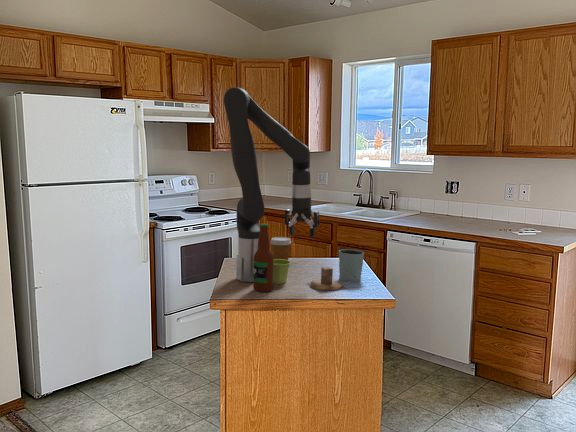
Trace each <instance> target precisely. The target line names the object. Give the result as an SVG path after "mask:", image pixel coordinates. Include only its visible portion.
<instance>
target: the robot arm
mask: <svg viewBox="0 0 576 432" xmlns="http://www.w3.org/2000/svg"><path fill="white" fill-rule="evenodd" d="M223 105H224V110H225V113H226V117H227V122H228V128H229V141H230V150H231V158H232V165H233V169H234V171H235V173H236V176H237V179H238V181H239V183H240V187H241V194H242V197H241V198H240V199H239V201H238V202H237V205H236V230H237V234H238V241H237V243H238V244H237V245H238V246H237V247H238V248H237V249H238V251H237V254H236V272H235V273H236V276H235V277H236V279H237V280H238V281H240V282H247V283H248V282H249V283H250V282H251V283H252V282H253V275H254V255H255V253H256V251H257V250H258V239H259V234H260V230H259V229H260V220H262V218H263V217H264V214H265V203H264V199H263V194H262V189H261V186H260V178H259V169H258V168H259V167H258V161H257V160H258V158H257V152H256V145H255V141H254V139H253V135H252V132H251V130H250V126H249V121H250V122H252V123H253V124H254V125H255V126H256V127H257V128H258V129H259V130H260V132H262V133H263V135H264V136H265V137H266V138H267V139H269V140H270V141H271V142H272V143H274V145H275V146H277V147H278V148H280V149H281V150H283V152H284V153H286V155H287V156H289V158H291V160H292V173H291V178H292V179H291V183H292V187H291V208H292V209H289V208H288V209H286V210H285V209H284V225H286V226H288V231H289V232H288V233H289V235H290V236H291V237H293V236H295V225H296V223H297V222H298V223H299V222H302V223H305V224H307V225H308V227H309V238H310V239H312V238H314V237H315V236H316V228H319V226H320V225H321V221H320V211H318V210H316V211H313V210H312V187H311V171H310V165H311V164H310V163H311V150H310V148H309V146H307V145H306V144H305V143H302V142H301V141H300V140H299V139H297V138H296V137H295V136H294V135H293V134H292V132H291V131H289V130H288V129H287V128H285V127H284V126H283V125H282V124H281V123H279V122H278V121H277V120H275V118H273V117H272V116H271V115H270V114H268V112H266V111H265V110H263V108H261V107H260V106H259V105H258V104H257V102H256V101H255V100H254V99H253V98H252V97H251V95H250V94H249V93H248V91H247V90H245V89H244V88H243V87H238V86H235V87H229V88H228V89H227V90H225V93H224V94H223ZM291 215H292V219H291ZM311 216H312V217H313V219H312V217H311Z"/></svg>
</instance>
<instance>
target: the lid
mask: <svg viewBox="0 0 576 432" xmlns="http://www.w3.org/2000/svg"><path fill="white" fill-rule="evenodd" d="M320 271H321V272H320V279H319V278H318V279H314V280H312V281H311V282H310V283H311V287H310V288H311V289H313V288H314V289H313V290H315V289H317V290H323V291H326V292H333V291H334V290H336V291H340V290H339V289H341V288H342V286H343V283H342V282H341V281H339V280H334V279H333V273H334V271H333V268H332V267H330V266H325V267H321V270H320ZM334 292H335V291H334Z"/></svg>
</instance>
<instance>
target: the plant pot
mask: <svg viewBox="0 0 576 432" xmlns="http://www.w3.org/2000/svg"><path fill="white" fill-rule="evenodd" d="M291 263H292V262H291V261H290V260H289V259H288V260H285V259H273V285H274V284H277V285H282V284H286V283H287V279H288V274H289V268H290V265H291Z"/></svg>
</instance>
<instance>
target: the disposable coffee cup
mask: <svg viewBox="0 0 576 432" xmlns="http://www.w3.org/2000/svg"><path fill="white" fill-rule="evenodd" d="M269 242H270V246H271V253H272V254H273V259H285V260H289V256H290V250H291V249H290V248H291V244H292V241H291V238H290V237H285V236H274V237H272V238H271V240H269Z"/></svg>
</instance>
